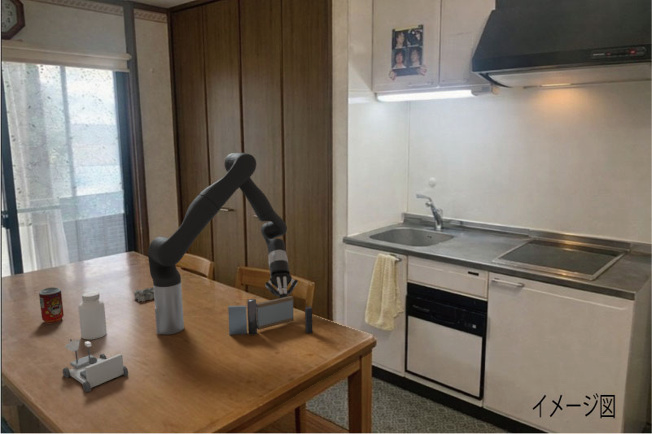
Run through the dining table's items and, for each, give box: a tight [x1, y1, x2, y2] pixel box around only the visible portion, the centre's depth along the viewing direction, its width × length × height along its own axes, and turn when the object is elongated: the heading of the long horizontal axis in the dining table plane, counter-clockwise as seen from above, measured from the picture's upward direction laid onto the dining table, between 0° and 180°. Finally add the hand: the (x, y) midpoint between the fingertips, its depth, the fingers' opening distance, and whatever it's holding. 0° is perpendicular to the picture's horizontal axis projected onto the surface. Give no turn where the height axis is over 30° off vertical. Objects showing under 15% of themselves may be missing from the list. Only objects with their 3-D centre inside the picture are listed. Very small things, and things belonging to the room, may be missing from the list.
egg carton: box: [133, 287, 154, 303], centre depth 200 cm, size 11×8×4 cm
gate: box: [256, 295, 294, 331], centre depth 168 cm, size 14×1×9 cm, turn 124°
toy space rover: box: [62, 338, 129, 393], centre depth 137 cm, size 18×10×12 cm
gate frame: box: [227, 298, 314, 336], centre depth 164 cm, size 29×3×12 cm, turn 92°
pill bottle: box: [78, 291, 107, 340], centre depth 162 cm, size 8×8×15 cm
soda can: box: [38, 286, 64, 325], centre depth 175 cm, size 7×7×12 cm
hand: (284, 304), depth 176 cm, fingers closed
